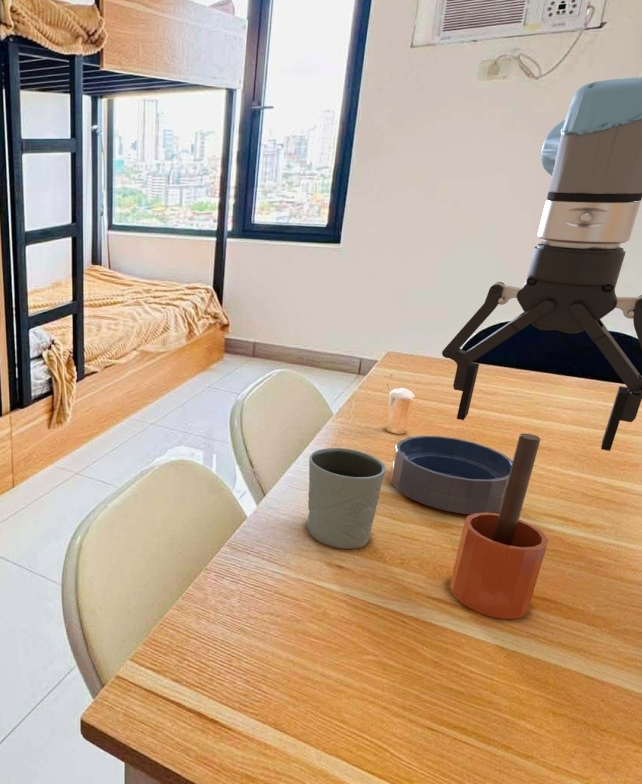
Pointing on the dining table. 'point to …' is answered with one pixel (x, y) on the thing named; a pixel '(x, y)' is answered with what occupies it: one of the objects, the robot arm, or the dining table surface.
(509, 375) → the dining table surface
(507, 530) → the stirring stick
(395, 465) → the bowl
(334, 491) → the grey cup
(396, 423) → the milkshake
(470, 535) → the pot
